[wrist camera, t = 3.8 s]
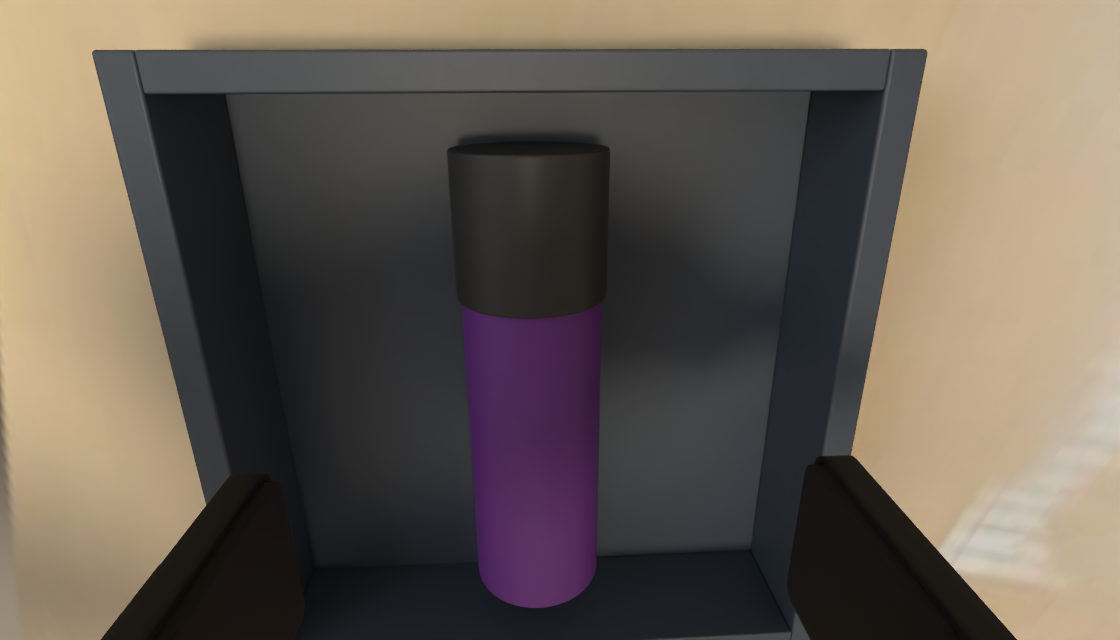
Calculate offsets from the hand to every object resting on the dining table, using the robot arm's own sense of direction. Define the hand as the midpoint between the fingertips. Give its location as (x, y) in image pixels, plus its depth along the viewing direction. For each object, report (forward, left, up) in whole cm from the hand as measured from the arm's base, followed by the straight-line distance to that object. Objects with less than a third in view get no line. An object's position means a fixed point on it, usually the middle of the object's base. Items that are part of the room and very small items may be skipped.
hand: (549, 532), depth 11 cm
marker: (0, 0, -8) cm, 8 cm away
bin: (0, 0, -8) cm, 8 cm away
